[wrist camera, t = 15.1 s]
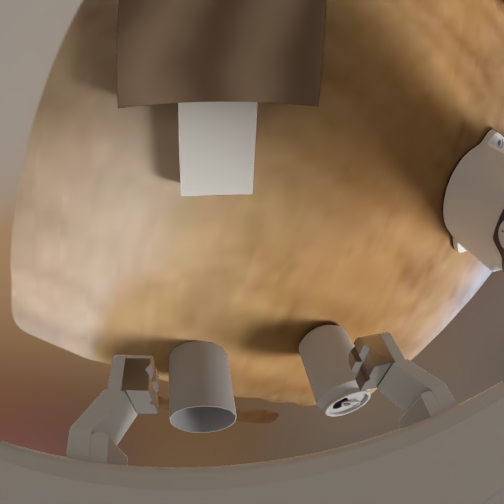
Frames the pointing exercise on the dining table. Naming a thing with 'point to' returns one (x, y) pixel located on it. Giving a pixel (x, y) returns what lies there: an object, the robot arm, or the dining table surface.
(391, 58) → the dining table surface
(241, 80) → the cabinet
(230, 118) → the white and orange box
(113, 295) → the dining table surface
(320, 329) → the can
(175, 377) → the cup
